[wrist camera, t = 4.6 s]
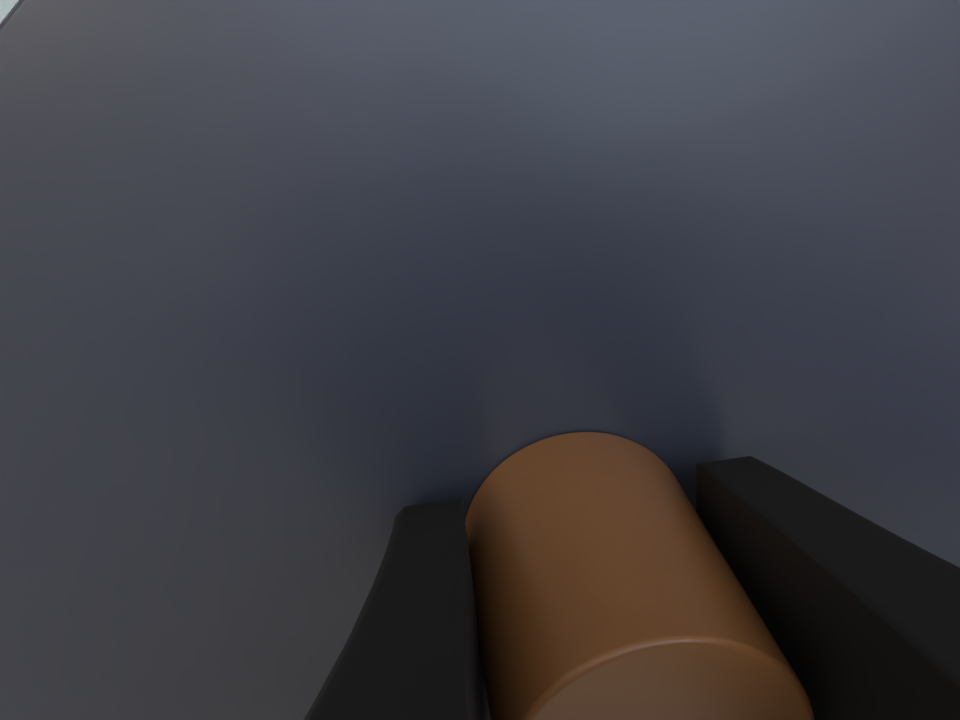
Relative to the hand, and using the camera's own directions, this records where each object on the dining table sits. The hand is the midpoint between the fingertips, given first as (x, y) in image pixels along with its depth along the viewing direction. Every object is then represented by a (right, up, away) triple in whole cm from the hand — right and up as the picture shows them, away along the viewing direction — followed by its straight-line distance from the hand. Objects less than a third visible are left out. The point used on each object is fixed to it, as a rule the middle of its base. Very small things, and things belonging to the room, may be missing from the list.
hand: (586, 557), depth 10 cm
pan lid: (0, 0, +1) cm, 1 cm away
